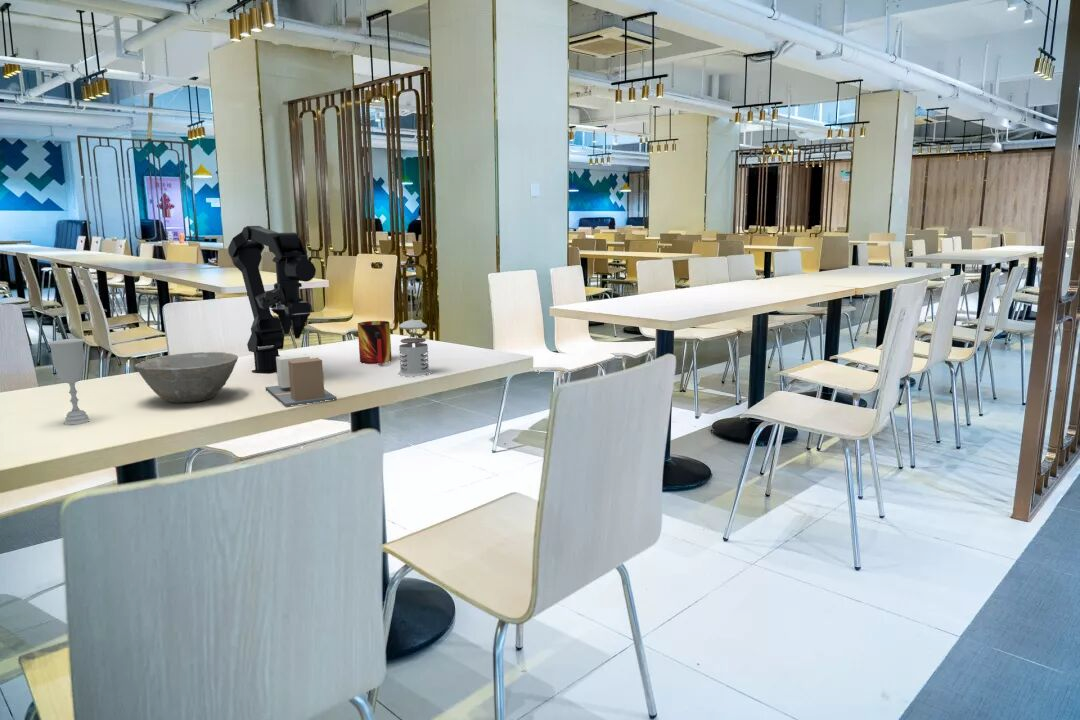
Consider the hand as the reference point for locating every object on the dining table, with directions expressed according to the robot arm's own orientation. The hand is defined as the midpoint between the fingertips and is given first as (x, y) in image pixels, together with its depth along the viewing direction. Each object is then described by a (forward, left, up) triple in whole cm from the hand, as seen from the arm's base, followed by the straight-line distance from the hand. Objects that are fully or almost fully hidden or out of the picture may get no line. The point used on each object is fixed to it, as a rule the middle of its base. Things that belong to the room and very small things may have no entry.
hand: (291, 336), depth 204 cm
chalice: (-19, -52, -12) cm, 56 cm away
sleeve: (+10, -14, -10) cm, 20 cm away
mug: (+10, +28, -12) cm, 32 cm away
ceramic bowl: (-10, -28, -12) cm, 32 cm away
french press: (+29, +15, -12) cm, 35 cm away
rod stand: (+14, -17, -12) cm, 25 cm away
